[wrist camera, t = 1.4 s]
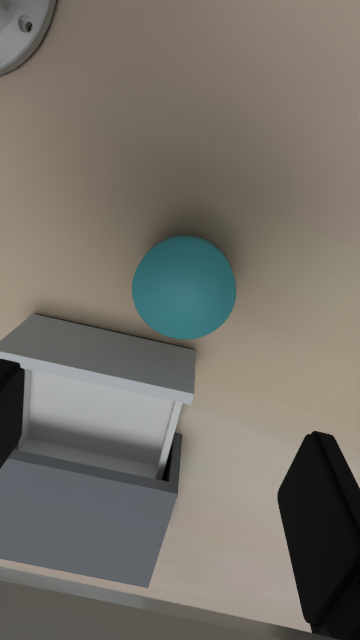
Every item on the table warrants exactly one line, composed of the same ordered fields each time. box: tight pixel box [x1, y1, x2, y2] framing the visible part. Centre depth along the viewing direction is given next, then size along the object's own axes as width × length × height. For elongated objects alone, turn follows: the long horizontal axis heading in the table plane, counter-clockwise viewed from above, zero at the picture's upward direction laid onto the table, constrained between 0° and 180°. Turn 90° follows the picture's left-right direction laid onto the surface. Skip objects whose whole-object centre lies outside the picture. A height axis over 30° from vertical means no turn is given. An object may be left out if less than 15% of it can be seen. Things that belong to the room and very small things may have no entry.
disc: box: [132, 235, 236, 339], centre depth 24 cm, size 7×7×2 cm
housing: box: [0, 433, 182, 588], centre depth 34 cm, size 14×17×7 cm
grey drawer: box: [0, 314, 196, 480], centre depth 30 cm, size 13×15×6 cm
